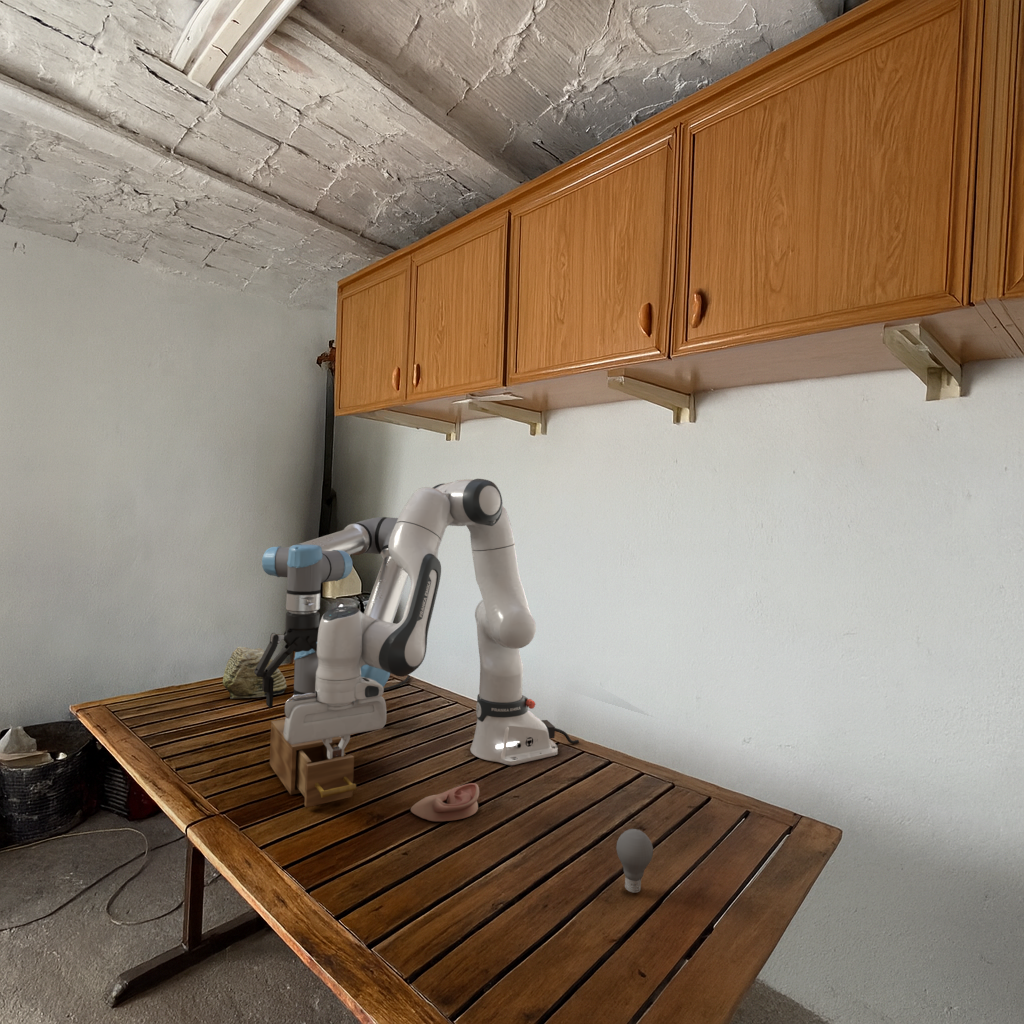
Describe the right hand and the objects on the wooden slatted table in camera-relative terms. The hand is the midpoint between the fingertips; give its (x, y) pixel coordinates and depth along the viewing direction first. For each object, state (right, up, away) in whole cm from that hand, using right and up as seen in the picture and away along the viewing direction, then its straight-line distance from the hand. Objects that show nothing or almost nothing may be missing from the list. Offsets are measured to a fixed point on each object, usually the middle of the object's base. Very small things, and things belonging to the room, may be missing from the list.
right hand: (335, 757), depth 127 cm
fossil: (-45, -8, +71) cm, 84 cm away
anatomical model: (+22, -12, +3) cm, 25 cm away
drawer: (-5, -10, +7) cm, 13 cm away
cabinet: (-12, -10, +17) cm, 23 cm away
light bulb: (+56, -14, -22) cm, 61 cm away
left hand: (-14, +5, +21) cm, 26 cm away
